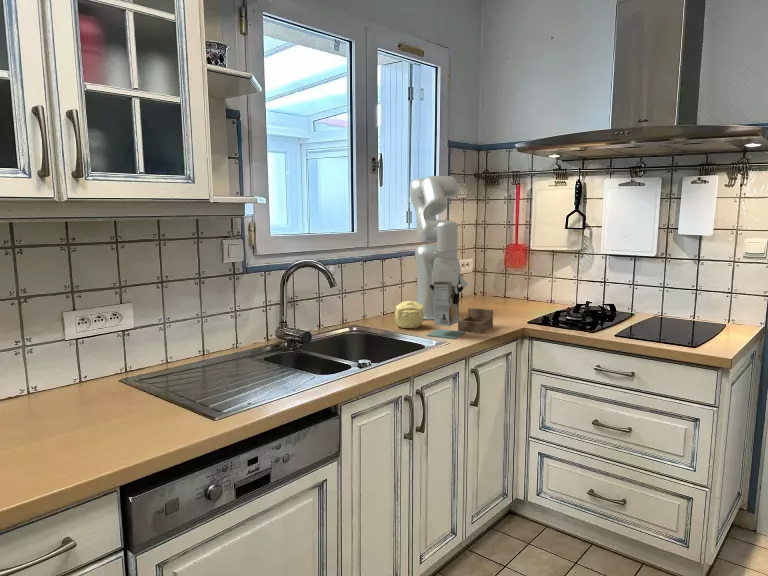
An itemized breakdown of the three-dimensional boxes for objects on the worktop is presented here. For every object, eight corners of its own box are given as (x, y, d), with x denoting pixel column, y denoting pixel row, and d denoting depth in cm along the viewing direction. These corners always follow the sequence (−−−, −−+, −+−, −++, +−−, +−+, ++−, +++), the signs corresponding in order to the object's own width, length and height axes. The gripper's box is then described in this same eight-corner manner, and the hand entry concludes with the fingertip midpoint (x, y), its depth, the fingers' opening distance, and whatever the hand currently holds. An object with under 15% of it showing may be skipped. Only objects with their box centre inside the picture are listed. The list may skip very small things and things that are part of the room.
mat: (427, 336, 209) (427, 334, 209) (437, 330, 218) (437, 329, 218) (455, 339, 204) (455, 337, 204) (464, 333, 213) (464, 331, 213)
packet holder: (457, 331, 217) (458, 313, 216) (468, 324, 228) (468, 307, 227) (483, 333, 212) (483, 315, 211) (492, 327, 224) (493, 309, 223)
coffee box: (444, 320, 216) (443, 279, 214) (459, 321, 212) (459, 279, 210) (433, 325, 208) (433, 282, 206) (449, 326, 205) (449, 282, 203)
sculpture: (395, 330, 218) (395, 303, 217) (394, 324, 230) (394, 298, 229) (425, 330, 219) (425, 303, 217) (421, 323, 231) (422, 298, 229)
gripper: (421, 255, 207) (421, 303, 210) (466, 256, 200) (465, 306, 202) (429, 253, 214) (428, 300, 216) (472, 255, 206) (472, 303, 209)
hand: (446, 302), depth 209 cm, fingers closed on coffee box, 6 cm apart
